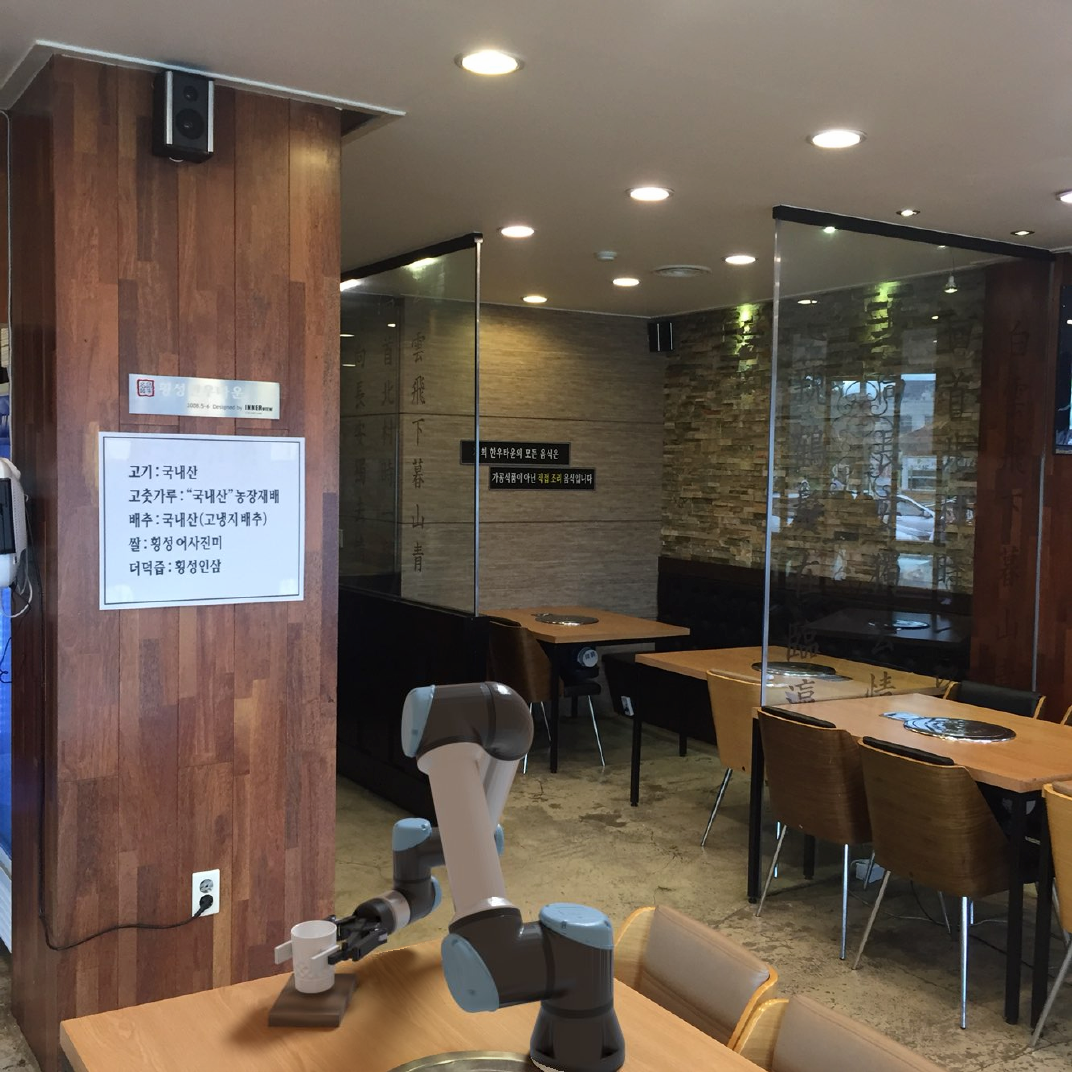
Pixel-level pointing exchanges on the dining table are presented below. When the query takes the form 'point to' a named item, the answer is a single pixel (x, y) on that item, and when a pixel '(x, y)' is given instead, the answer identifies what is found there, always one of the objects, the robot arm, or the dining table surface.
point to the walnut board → (313, 1003)
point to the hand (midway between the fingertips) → (294, 961)
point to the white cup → (312, 954)
